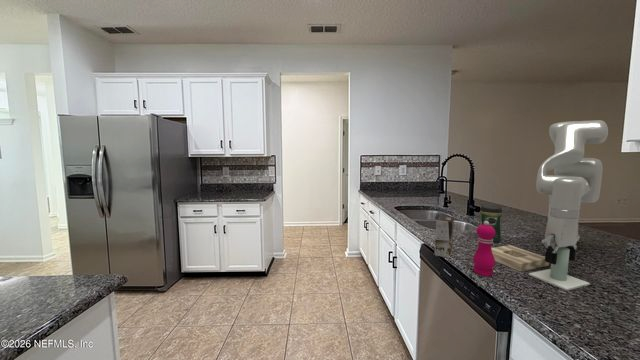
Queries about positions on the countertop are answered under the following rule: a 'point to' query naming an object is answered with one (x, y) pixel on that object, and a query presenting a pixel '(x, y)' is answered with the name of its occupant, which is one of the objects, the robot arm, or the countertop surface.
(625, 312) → the countertop surface
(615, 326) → the countertop surface
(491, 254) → the pepper mill
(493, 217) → the coffee jar
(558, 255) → the peg
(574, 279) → the mat
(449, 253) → the coffee box
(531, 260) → the wooden square frame
